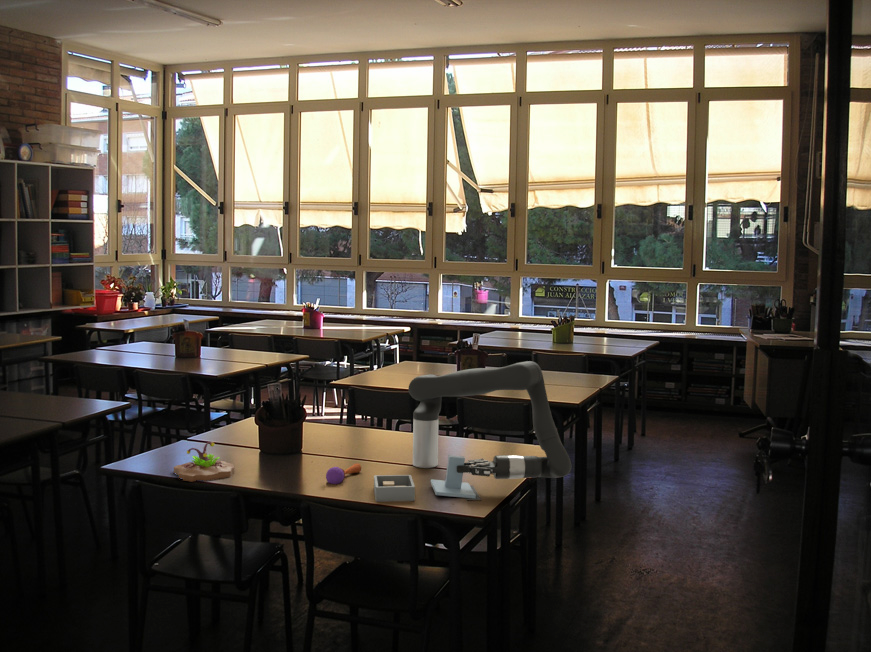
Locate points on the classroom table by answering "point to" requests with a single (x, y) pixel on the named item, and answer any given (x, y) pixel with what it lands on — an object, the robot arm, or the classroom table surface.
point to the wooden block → (388, 483)
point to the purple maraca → (341, 473)
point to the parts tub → (394, 488)
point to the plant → (204, 467)
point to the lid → (453, 481)
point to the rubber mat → (475, 494)
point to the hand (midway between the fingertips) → (456, 467)
